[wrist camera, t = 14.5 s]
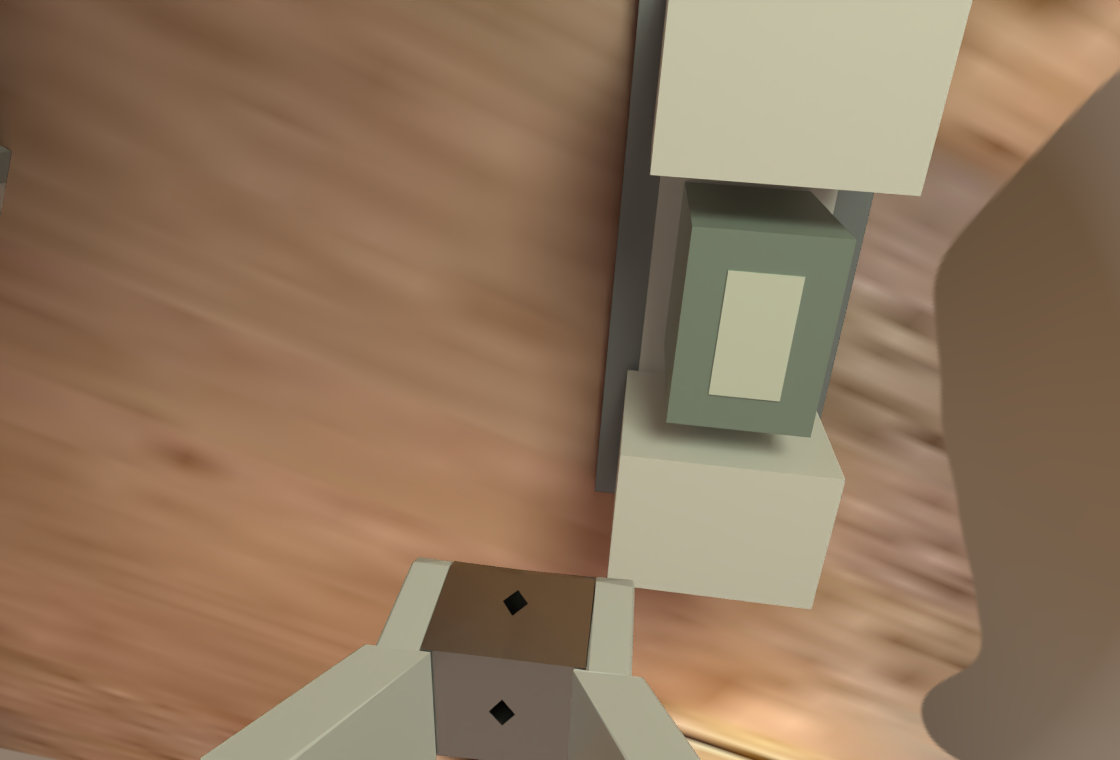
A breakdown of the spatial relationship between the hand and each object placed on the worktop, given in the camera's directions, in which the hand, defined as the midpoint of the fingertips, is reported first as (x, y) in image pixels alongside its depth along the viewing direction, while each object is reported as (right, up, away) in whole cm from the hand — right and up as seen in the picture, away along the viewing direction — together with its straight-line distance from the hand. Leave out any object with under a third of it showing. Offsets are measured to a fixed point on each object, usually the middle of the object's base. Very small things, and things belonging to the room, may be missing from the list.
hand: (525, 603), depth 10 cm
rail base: (+8, +8, +22) cm, 25 cm away
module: (+8, +8, +21) cm, 24 cm away
